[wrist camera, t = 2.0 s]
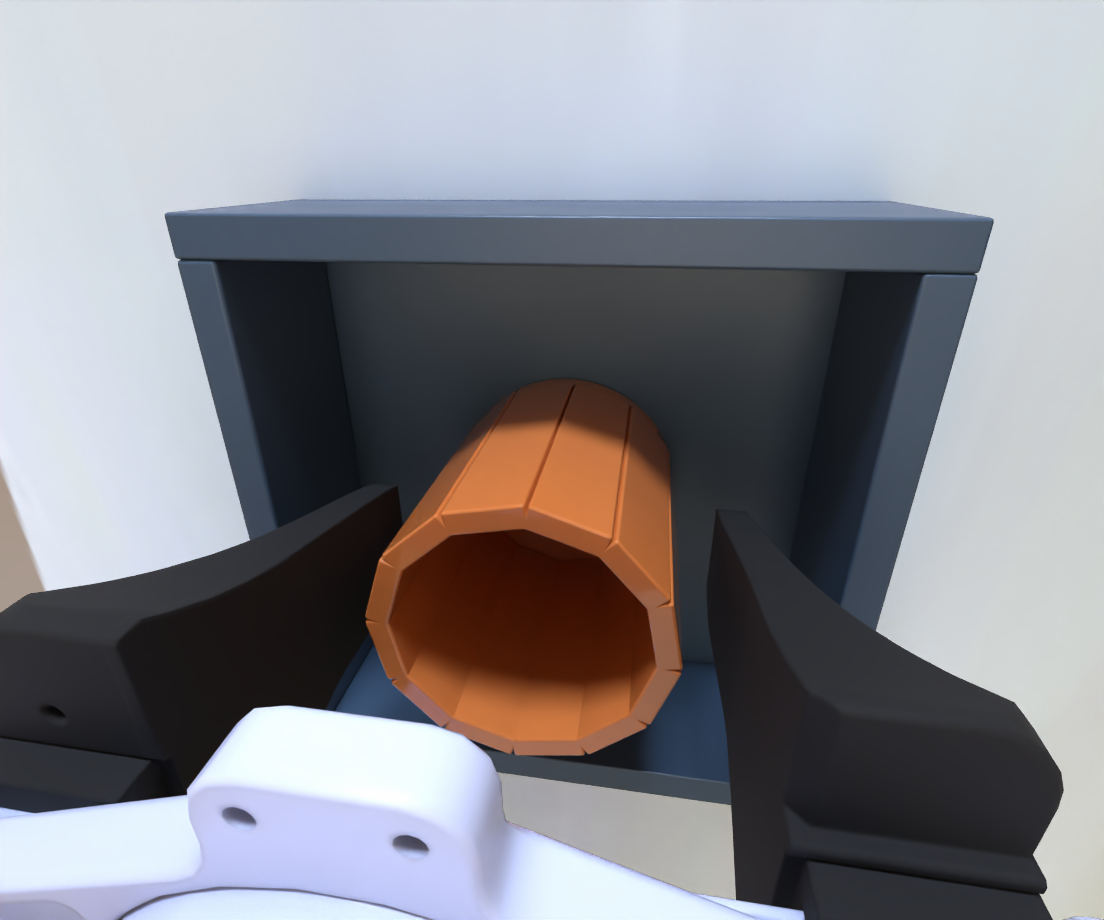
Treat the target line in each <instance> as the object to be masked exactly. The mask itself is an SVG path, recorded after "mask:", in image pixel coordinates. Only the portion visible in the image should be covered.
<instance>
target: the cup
mask: <svg viewBox="0 0 1104 920" xmlns="http://www.w3.org/2000/svg"><path fill="white" fill-rule="evenodd" d="M365 618H367V620H366V625H367V628H368V630H369V633H370V635H371V638H372V640H373V643H374V645H375V648H376V650H377V653H378V655H379V658H380V660H381V663H382V665H383V668H384V670H385V673H386V675H387V678H388V679H392V681H391V683H392V684H393V685H394V686H395V687H396V688H397V689H398V690H399V691H401V692H402V693H403V694H404V695H405V696H406V697H407V698H408V699H409V700H411V701H412V702H413V703H414V704H415V705H416V706H417V707H418V708H420V709H421V710H422V711H423V712H424V713H425V714H426V715H427V716H429V717H430V718H431V719H432V720H433V721H434V722H435V723H436V724H438V725H439V726H440V727H443V726H444V725H446V726H445V729H447V730H451V731H454V732H457V733H460V734H463V735H464V736H465V737H467V738H468V739H471V740H473V741H476V742H479V743H481V744H484V745H487V746H489V747H492V748H495V749H497V750H500V751H503V752H505V753H508V754H511V753H512V752H513V750H514V753H515V755H584V753H585V752H586V753H588V754H591V753H593V752H595V751H598V750H600V749H602V748H604V747H606V746H609V745H611V744H613V743H615V742H617V741H619V740H622V739H624V738H626V737H628V736H630V735H632V734H635V733H637V732H639V731H641V730H643V729H645V728H646V727H647V724H651V723H652V721H653V719H654V718H655V716H656V715H657V713H658V711H659V710H660V708H661V706H662V705H663V703H664V702H665V700H666V698H667V697H668V695H669V694H670V692H671V690H672V689H673V687H674V685H675V684H676V682H677V681H678V679H679V677H680V676H681V670H682V668H683V654H682V631H681V609H680V587H679V564H678V542H677V520H676V498H675V490H674V482H673V471H672V463H671V458H670V451H669V450H668V448H667V445H666V442H665V440H664V438H663V436H662V435H661V433H660V431H659V429H658V428H657V426H656V425H655V424H654V422H653V421H652V420H651V418H650V417H649V416H648V415H647V414H646V413H645V412H644V411H643V410H642V409H641V408H640V407H639V406H637V405H636V404H635V403H634V402H632V401H631V400H630V399H628V398H627V397H625V396H623V395H622V394H620V393H618V392H616V391H614V390H612V389H610V388H608V387H605V386H602V385H599V384H596V383H593V382H589V381H583V380H577V379H551V380H545V381H540V382H535V383H532V384H529V385H526V386H523V387H521V388H519V389H517V390H515V391H513V392H511V393H509V394H508V395H507V396H505V397H504V398H502V399H501V400H499V401H498V402H497V403H496V404H495V405H494V406H493V407H492V408H491V409H490V410H489V411H488V413H487V414H486V415H485V416H484V417H482V418H481V419H480V420H479V421H477V422H476V424H475V425H474V427H473V428H472V429H471V431H470V432H469V434H468V435H467V436H466V438H465V439H464V441H463V442H462V443H461V445H460V446H459V448H458V449H457V450H456V452H455V453H454V455H453V456H452V457H451V459H450V460H449V462H448V463H447V464H446V466H445V467H444V469H443V470H442V472H441V473H440V474H439V476H438V477H437V479H436V480H435V481H434V483H433V484H432V486H431V487H430V488H429V490H428V491H427V493H426V494H425V495H424V497H423V498H422V500H421V501H420V502H419V504H418V505H417V507H416V508H415V509H414V511H413V512H412V514H411V515H410V516H409V518H408V519H407V521H406V522H405V524H404V525H403V526H402V528H401V529H400V531H399V532H398V533H397V535H396V536H395V538H394V539H393V540H392V542H391V543H390V545H389V546H388V547H387V549H386V550H385V552H384V553H383V555H382V556H381V558H380V559H379V561H378V565H377V569H376V573H375V577H374V581H373V585H372V589H371V593H370V597H369V601H368V605H367V609H366V614H365Z"/></svg>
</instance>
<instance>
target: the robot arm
mask: <svg viewBox="0 0 1104 920" xmlns="http://www.w3.org/2000/svg"><path fill="white" fill-rule="evenodd" d="M402 526H403V521H402V514H401V506H400V498H399V491H398V485H386V484H371V485H368V486H365V487H363V488H360V489H358V490H356V491H354V492H352V493H350V494H347V495H345V496H343V497H341V498H339V499H337V500H335V501H333V502H331V503H329V504H327V505H325V506H323V507H321V508H319V509H317V510H315V511H313V512H311V513H309V514H307V515H305V516H303V517H301V518H299V519H297V520H295V521H293V522H290V523H288V524H286V525H284V526H282V527H280V528H277V529H275V530H273V531H271V532H269V533H266V534H264V535H262V536H260V537H257V538H255V539H252V540H250V541H247V542H245V543H242V544H240V545H237V546H234V547H231V548H229V549H226V550H223V551H220V552H218V553H215V554H212V555H209V556H205V557H202V558H199V559H195V560H192V561H188V562H185V563H181V564H178V565H175V566H171V567H168V568H164V569H161V570H157V571H152V572H148V573H144V574H140V575H136V576H131V577H126V578H121V579H117V580H112V581H107V582H102V583H96V584H91V585H84V586H78V587H71V588H65V589H58V590H52V591H45V592H38V593H31V594H28V595H26V596H24V597H23V598H21V599H20V600H18V601H17V602H16V603H14V604H12V605H11V606H10V607H8V608H7V609H5V610H4V611H2V612H1V613H0V920H1053V919H1052V917H1051V915H1050V913H1049V912H1048V910H1047V908H1046V906H1045V904H1044V902H1043V900H1042V898H1041V896H1040V894H1044V893H1045V891H1046V889H1047V883H1046V879H1045V877H1044V875H1043V873H1042V871H1041V869H1040V868H1039V866H1038V864H1037V862H1036V860H1035V858H1034V856H1033V853H1034V851H1035V849H1036V848H1037V846H1038V844H1039V842H1040V840H1041V839H1042V837H1043V835H1044V833H1045V831H1046V829H1047V828H1048V826H1049V824H1050V822H1051V820H1052V818H1053V817H1054V815H1055V813H1056V811H1057V809H1058V807H1059V804H1060V800H1061V797H1062V794H1063V791H1064V790H1063V782H1062V775H1061V771H1060V770H1059V768H1058V766H1057V765H1056V763H1055V762H1054V760H1053V759H1052V757H1051V755H1050V754H1049V752H1048V751H1047V749H1046V747H1045V746H1044V744H1043V742H1042V741H1041V739H1040V738H1039V736H1038V734H1037V733H1036V731H1035V730H1034V728H1033V727H1032V725H1031V724H1030V723H1029V721H1028V720H1027V719H1026V717H1025V716H1024V714H1023V713H1022V712H1021V710H1020V709H1019V708H1018V707H1017V705H1016V704H1015V702H1012V701H1010V700H1008V699H1006V698H1003V697H1001V696H999V695H997V694H994V693H992V692H990V691H988V690H985V689H983V688H981V687H979V686H976V685H974V684H972V683H970V682H967V681H965V680H963V679H960V678H958V677H956V676H954V675H952V674H950V673H948V672H946V671H944V670H942V669H940V668H938V667H936V666H935V665H933V664H931V663H929V662H927V661H925V660H923V659H921V658H919V657H917V656H916V655H914V654H912V653H910V652H909V651H907V650H905V649H904V648H902V647H900V646H898V645H897V644H895V643H893V642H892V641H890V640H889V639H887V638H886V637H884V636H882V635H881V634H879V633H878V632H876V631H875V630H873V629H871V628H870V627H868V626H867V625H865V624H864V623H863V622H861V621H860V620H858V619H857V618H855V617H854V616H853V615H851V614H850V613H849V612H848V611H846V610H845V609H844V608H842V607H841V606H840V605H838V604H837V603H836V602H834V601H833V600H832V599H831V598H829V597H828V596H827V595H826V594H825V593H823V592H822V591H821V590H820V589H819V588H818V587H817V586H816V585H814V584H813V583H812V582H811V581H810V580H809V579H808V578H807V577H806V576H805V575H804V574H802V573H801V572H800V571H799V570H798V569H797V568H796V567H795V566H794V565H793V564H792V563H791V562H790V561H789V560H788V559H787V558H786V556H785V555H784V554H783V553H782V552H781V551H780V550H779V549H778V548H777V547H776V546H775V545H774V543H773V542H772V541H771V540H770V539H769V538H768V536H767V535H766V534H765V533H764V532H763V531H762V529H761V528H760V527H759V526H758V525H757V524H756V522H755V521H754V520H753V519H752V518H751V517H750V515H749V514H748V513H747V512H746V511H736V510H723V509H716V516H715V524H714V531H713V539H712V547H711V555H710V562H709V570H708V578H707V585H706V590H707V614H708V628H709V634H710V640H711V646H712V652H713V657H714V663H715V669H716V674H717V680H718V685H719V691H720V696H721V702H722V707H723V713H724V720H725V727H726V735H727V748H728V762H729V776H730V792H731V809H732V825H733V845H734V866H735V886H736V900H733V899H727V898H721V897H714V896H708V895H702V894H696V893H691V892H688V891H686V890H683V889H681V888H678V887H675V886H673V885H670V884H668V883H665V882H663V881H660V880H657V879H655V878H652V877H650V876H647V875H644V874H642V873H639V872H637V871H634V870H632V869H629V868H626V867H624V866H621V865H619V864H616V863H614V862H611V861H608V860H606V859H603V858H601V857H598V856H596V855H593V854H590V853H588V852H585V851H583V850H580V849H577V848H575V847H572V846H570V845H567V844H565V843H562V842H559V841H557V840H554V839H552V838H549V837H547V836H544V835H541V834H539V833H536V832H534V831H531V830H528V829H526V828H523V827H521V826H518V825H516V824H513V823H510V822H508V821H506V819H505V815H504V811H503V802H502V786H501V781H500V779H499V776H498V774H497V772H496V769H495V767H494V765H493V763H492V760H491V758H490V757H489V756H488V755H487V754H486V753H485V752H484V751H483V750H482V749H480V748H479V747H478V746H477V745H475V744H474V743H473V742H472V741H470V740H469V739H468V738H467V737H465V736H464V735H463V734H460V733H457V732H454V731H451V730H447V729H444V728H441V727H438V726H435V725H432V724H425V723H417V722H410V721H402V720H395V719H387V718H380V717H372V716H365V715H357V714H350V713H342V712H335V711H327V710H326V708H327V706H328V704H329V702H330V699H331V697H332V695H333V693H334V691H335V689H336V687H337V685H338V683H339V682H340V680H341V678H342V676H343V674H344V673H345V671H346V669H347V667H348V666H349V664H350V663H351V661H352V659H353V658H354V656H355V655H356V653H357V651H358V650H359V648H360V647H361V645H362V643H363V642H364V640H365V639H366V637H367V635H368V634H369V630H368V628H367V625H366V620H367V618H365V614H366V609H367V605H368V601H369V597H370V593H371V589H372V585H373V581H374V577H375V573H376V569H377V565H378V561H379V559H380V558H381V556H382V555H383V553H384V552H385V550H386V549H387V547H388V546H389V545H390V543H391V542H392V540H393V539H394V538H395V536H396V535H397V533H398V532H399V531H400V529H401V528H402ZM1039 893H1040V894H1039ZM1064 920H1104V919H1099V918H1093V917H1071V918H1067V919H1064Z"/></svg>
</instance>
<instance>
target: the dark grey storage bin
mask: <svg viewBox="0 0 1104 920" xmlns="http://www.w3.org/2000/svg"><path fill="white" fill-rule="evenodd" d="M165 219H166V223H167V227H168V231H169V235H170V239H171V242H172V246H173V250H174V254H175V257H176V258H178V259H181V260H179V261H178V267H179V270H180V274H181V278H182V282H183V286H184V289H185V293H186V297H187V301H188V305H189V309H190V312H191V316H192V320H193V324H194V328H195V332H196V335H197V339H198V343H199V347H200V351H201V355H202V358H203V362H204V366H205V370H206V374H207V377H208V381H209V385H210V389H211V393H212V397H213V400H214V404H215V408H216V412H217V416H218V420H219V423H220V427H221V431H222V435H223V439H224V442H225V446H226V450H227V454H228V458H229V462H230V465H231V469H232V473H233V477H234V481H235V485H236V488H237V492H238V496H239V500H240V504H241V508H242V511H243V515H244V519H245V523H246V527H247V530H248V534H249V538H250V540H252V539H255V538H257V537H260V536H262V535H264V534H266V533H269V532H271V531H273V530H275V529H277V528H280V527H282V526H284V525H286V524H288V523H290V522H293V521H295V520H297V519H299V518H301V517H303V516H305V515H307V514H309V513H311V512H313V511H315V510H317V509H319V508H321V507H323V506H325V505H327V504H329V503H331V502H333V501H335V500H337V499H339V498H341V497H343V496H345V495H347V494H350V493H352V492H354V491H356V490H358V489H360V488H363V487H365V486H368V485H371V484H386V485H398V491H399V498H400V506H401V514H402V521H403V525H404V524H405V522H406V521H407V519H408V518H409V516H410V515H411V514H412V512H413V511H414V509H415V508H416V507H417V505H418V504H419V502H420V501H421V500H422V498H423V497H424V495H425V494H426V493H427V491H428V490H429V488H430V487H431V486H432V484H433V483H434V481H435V480H436V479H437V477H438V476H439V474H440V473H441V472H442V470H443V469H444V467H445V466H446V464H447V463H448V462H449V460H450V459H451V457H452V456H453V455H454V453H455V452H456V450H457V449H458V448H459V446H460V445H461V443H462V442H463V441H464V439H465V438H466V436H467V435H468V434H469V432H470V431H471V429H472V428H473V427H474V425H475V424H476V422H477V421H479V420H480V419H481V418H482V417H484V416H485V415H486V414H487V413H488V411H489V410H490V409H491V408H492V407H493V406H494V405H495V404H496V403H497V402H498V401H499V400H501V399H502V398H504V397H505V396H507V395H508V394H509V393H511V392H513V391H515V390H517V389H519V388H521V387H523V386H526V385H529V384H532V383H535V382H540V381H545V380H551V379H577V380H583V381H589V382H593V383H596V384H599V385H602V386H605V387H608V388H610V389H612V390H614V391H616V392H618V393H620V394H622V395H623V396H625V397H627V398H628V399H630V400H631V401H632V402H634V403H635V404H636V405H637V406H639V407H640V408H641V409H642V410H643V411H644V412H645V413H646V414H647V415H648V416H649V417H650V418H651V420H652V421H653V422H654V424H655V425H656V426H657V428H658V429H659V431H660V433H661V435H662V436H663V438H664V440H665V442H666V445H667V448H668V450H669V451H670V458H671V463H672V471H673V482H674V490H675V498H676V520H677V542H678V564H679V587H680V609H681V631H682V654H683V668H682V670H681V676H680V677H679V679H678V681H677V682H676V684H675V685H674V687H673V689H672V690H671V692H670V694H669V695H668V697H667V698H666V700H665V702H664V703H663V705H662V706H661V708H660V710H659V711H658V713H657V715H656V716H655V718H654V719H653V721H652V723H651V724H647V727H646V728H645V729H643V730H641V731H639V732H637V733H635V734H632V735H630V736H628V737H626V738H624V739H622V740H619V741H617V742H615V743H613V744H611V745H609V746H606V747H604V748H602V749H600V750H598V751H595V752H593V753H591V754H588V753H586V752H585V753H584V755H515V753H514V750H513V752H512V753H511V754H508V753H505V752H503V751H500V750H497V749H495V748H492V747H489V746H487V745H484V744H481V743H479V742H476V741H473V740H471V739H469V740H470V741H472V742H473V743H474V744H475V745H477V746H478V747H479V748H480V749H482V750H483V751H484V752H485V753H486V754H487V755H488V756H489V757H490V758H491V760H492V763H493V765H494V767H495V769H496V772H500V773H507V774H514V775H521V776H528V777H536V778H543V779H550V780H557V781H564V782H571V783H578V784H585V785H592V786H599V787H606V788H613V789H621V790H628V791H635V792H642V793H649V794H656V795H663V796H670V797H677V798H684V799H691V800H698V801H706V802H713V803H720V804H727V805H731V792H730V776H729V762H728V748H727V735H726V727H725V720H724V713H723V707H722V702H721V696H720V691H719V685H718V680H717V674H716V669H715V663H714V657H713V652H712V646H711V640H710V634H709V628H708V614H707V590H706V585H707V578H708V570H709V562H710V555H711V547H712V539H713V531H714V524H715V516H716V509H723V510H736V511H746V512H747V513H748V514H749V515H750V517H751V518H752V519H753V520H754V521H755V522H756V524H757V525H758V526H759V527H760V528H761V529H762V531H763V532H764V533H765V534H766V535H767V536H768V538H769V539H770V540H771V541H772V542H773V543H774V545H775V546H776V547H777V548H778V549H779V550H780V551H781V552H782V553H783V554H784V555H785V556H786V558H787V559H788V560H789V561H790V562H791V563H792V564H793V565H794V566H795V567H796V568H797V569H798V570H799V571H800V572H801V573H802V574H804V575H805V576H806V577H807V578H808V579H809V580H810V581H811V582H812V583H813V584H814V585H816V586H817V587H818V588H819V589H820V590H821V591H822V592H823V593H825V594H826V595H827V596H828V597H829V598H831V599H832V600H833V601H834V602H836V603H837V604H838V605H840V606H841V607H842V608H844V609H845V610H846V611H848V612H849V613H850V614H851V615H853V616H854V617H855V618H857V619H858V620H860V621H861V622H863V623H864V624H865V625H867V626H868V627H870V628H871V629H873V630H875V631H876V627H877V624H878V620H879V617H880V614H881V610H882V607H883V603H884V600H885V596H886V593H887V589H888V586H889V582H890V579H891V575H892V572H893V569H894V565H895V562H896V558H897V555H898V551H899V548H900V544H901V541H902V537H903V534H904V531H905V527H906V524H907V520H908V517H909V513H910V510H911V506H912V503H913V499H914V496H915V492H916V489H917V486H918V482H919V479H920V475H921V472H922V468H923V465H924V461H925V458H926V454H927V451H928V447H929V444H930V441H931V437H932V434H933V430H934V427H935V423H936V420H937V416H938V413H939V409H940V406H941V402H942V399H943V396H944V392H945V389H946V385H947V382H948V378H949V375H950V371H951V368H952V364H953V361H954V358H955V354H956V351H957V347H958V344H959V340H960V337H961V333H962V330H963V326H964V323H965V319H966V316H967V313H968V309H969V306H970V302H971V299H972V295H973V292H974V288H975V285H976V281H977V275H975V273H978V272H979V271H980V268H981V264H982V261H983V257H984V254H985V250H986V247H987V243H988V240H989V237H990V233H991V230H992V226H993V223H994V221H993V219H992V218H989V217H983V216H977V215H971V214H965V213H959V212H953V211H946V210H940V209H934V208H928V207H922V206H916V205H910V204H904V203H898V202H892V201H579V200H289V201H280V202H270V203H260V204H249V205H239V206H229V207H219V208H209V209H199V210H189V211H179V212H169V213H166V214H165ZM391 681H392V679H388V678H387V675H386V673H385V670H384V668H383V665H382V663H381V660H380V658H379V655H378V653H377V650H376V648H375V645H374V643H373V640H372V638H371V635H370V633H369V634H368V635H367V637H366V639H365V640H364V642H363V643H362V645H361V647H360V648H359V650H358V651H357V653H356V655H355V656H354V658H353V659H352V661H351V663H350V664H349V666H348V667H347V669H346V671H345V673H344V674H343V676H342V678H341V680H340V682H339V683H338V685H337V687H336V689H335V691H334V693H333V695H332V697H331V699H330V702H329V704H328V706H327V708H326V710H327V711H335V712H342V713H350V714H357V715H365V716H372V717H380V718H387V719H395V720H402V721H410V722H417V723H425V724H432V725H435V726H438V727H440V726H439V725H438V724H436V723H435V722H434V721H433V720H432V719H431V718H430V717H429V716H427V715H426V714H425V713H424V712H423V711H422V710H421V709H420V708H418V707H417V706H416V705H415V704H414V703H413V702H412V701H411V700H409V699H408V698H407V697H406V696H405V695H404V694H403V693H402V692H401V691H399V690H398V689H397V688H396V687H395V686H394V685H393V684H392V683H391ZM445 726H446V725H444V726H443V727H441V728H444V729H445Z"/></svg>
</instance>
